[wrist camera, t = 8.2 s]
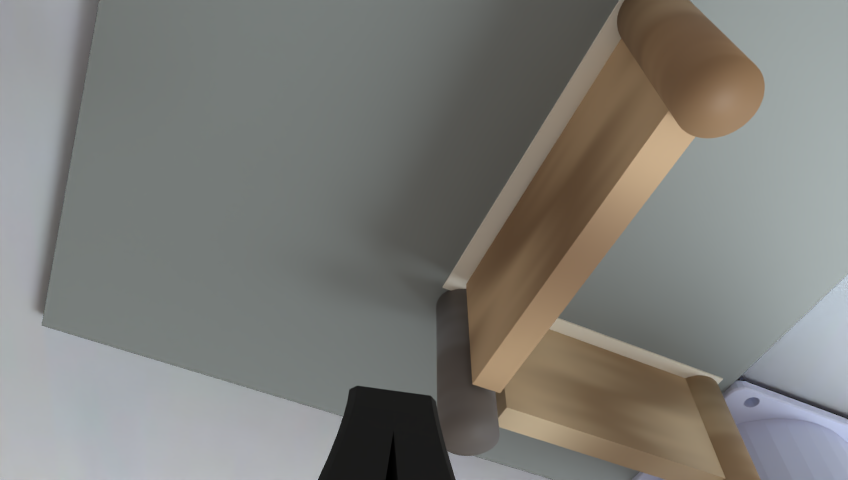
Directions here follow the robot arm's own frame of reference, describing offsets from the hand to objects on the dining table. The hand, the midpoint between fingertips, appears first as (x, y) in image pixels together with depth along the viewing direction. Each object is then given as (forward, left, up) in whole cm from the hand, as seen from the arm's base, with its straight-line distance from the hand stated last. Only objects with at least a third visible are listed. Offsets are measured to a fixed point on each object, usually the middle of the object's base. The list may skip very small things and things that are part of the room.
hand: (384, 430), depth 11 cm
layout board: (-3, 0, -9) cm, 10 cm away
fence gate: (-4, -2, -9) cm, 10 cm away
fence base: (-8, +4, -9) cm, 13 cm away
